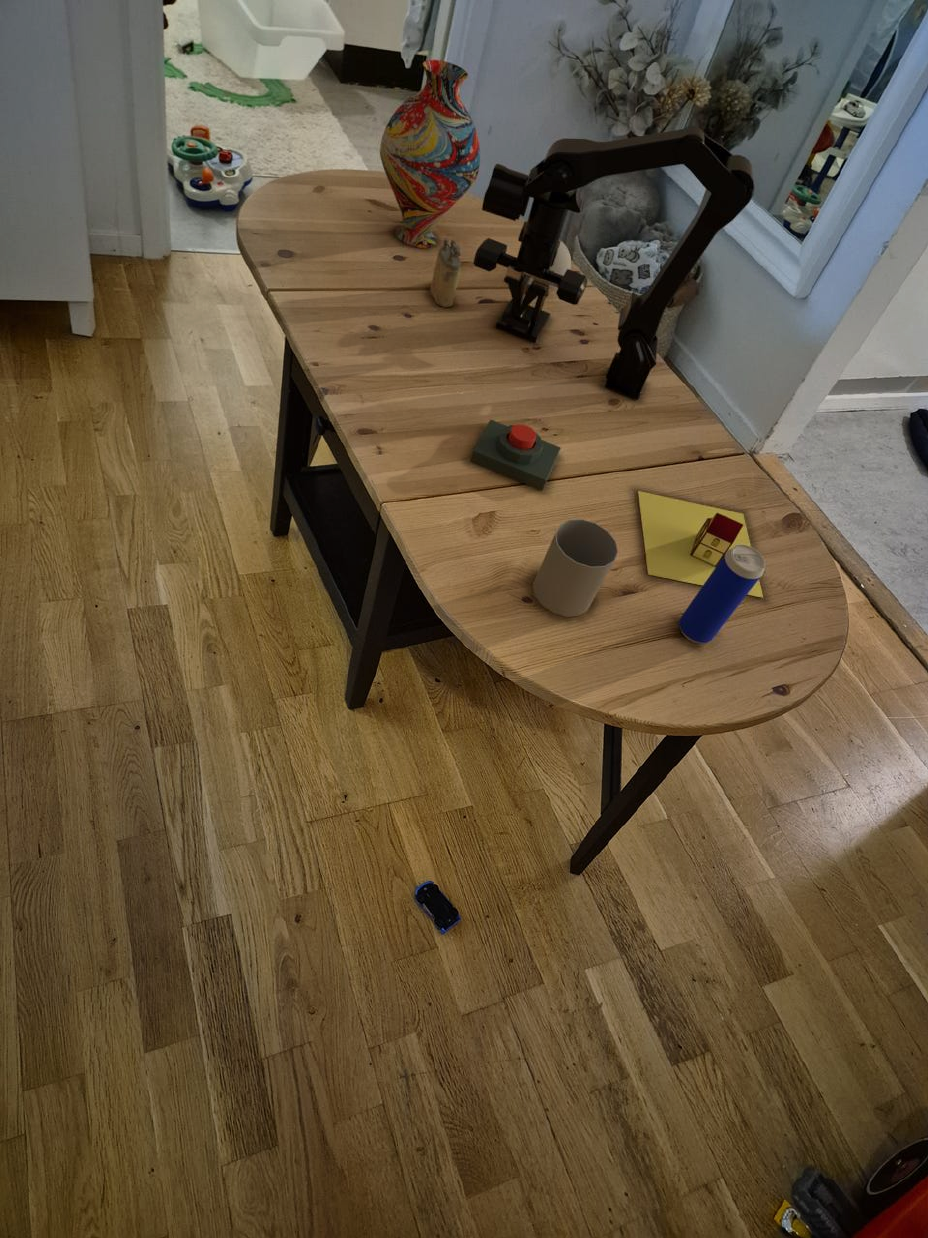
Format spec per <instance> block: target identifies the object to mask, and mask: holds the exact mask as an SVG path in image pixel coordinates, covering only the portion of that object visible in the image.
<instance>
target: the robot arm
mask: <svg viewBox="0 0 928 1238" xmlns="http://www.w3.org/2000/svg"><path fill="white" fill-rule="evenodd" d="M681 165H683V166H685V168H687V169H688V170H689V171H690V172H691V173H692V174H693V176H694V177H695V179H697V180H698V182H699V183H700V184H701V185H702V187H704V188H705V190H704V193H703V196H702V199H701V202H700V204H699V207H698V210H697V212H696V213H695V216H694V217H693V219H692V220H691V221H690V223H689V225H688V227H687V228H686V229H685V231H684V233H683V234H682V235H681V237H680V239H679V241H678V242H677V243H676V245H675V247H674V248H673V250H672V251H671V253H670V254H669V256H668V258H667V259H666V261H665V262H664V264H663V265H662V266H661V269H659V271H658V274H656V276H655V277H654V279H653V281H652V282H651V284H650V286H649V287H648V288H647V290H645V291H644V292H643V293H642V294H640V295H638V294H636V293H635V292H634V291H633V292H631V294H630V296H629V298H628V300H627V303H626V304H625V306H624V307H622V308H621V309H620V311H619V317H618V323H617V330H618V334H617V343H618V347H619V348H620V350H619V352H617V351H616V352H614V355H613V357H612V360H611V362H610V365H609V367H608V369H607V372H606V374H605V380H606V381H605V384H604V387H605V388H606V389H608V390H611V391H612V392H613V391H614V392H616V393H619V394H621V395H623V396H625V397H629V398H631V399H632V400H633V399H634V400H636V401H637V400H639V399H640V396H641V394H642V390H643V388H644V386H645V383H646V382H647V379H648V377H649V375H650V373H651V371H652V369H654V367H655V366H656V365H657V356H658V345H659V336H658V335H657V332H658V330H659V327H660V324H661V322H662V319H663V316H664V313H665V311H666V309H667V307H668V306H669V304H670V303H671V301H672V300H673V298H675V296H676V294H677V293H678V291H679V289H680V288H681V287H682V286H683V283H684V282H685V281H686V279H687V278H688V276H689V275H690V273H691V272H692V271H693V270H694V267H695V266H696V264H697V263H698V261H699V260H700V259H701V258H702V255H703V254H704V252H705V251H706V250H707V248H708V247H709V245H710V244H711V242H712V241H713V239H714V238H715V237H716V235H717V234H718V233H719V232H720V231H721V230H722V229H724V228H725V227H726V226H727V225H729V224H730V223H731V222H733V221H734V220H735V219H736V218H737V217H738V215H740V213H742V211H743V210H744V209H745V208H746V207H747V206H748V204H750V202H751V200H752V198H753V197H754V194H755V179H754V170H753V165H752V163H751V161H750V160H749V159H748V158H747V157H746V156H743V155H740V154H733V153H732V152H731V151H729V150H728V149H727V148H726V147H725V146H724V145H723V144H720V143H719V142H717V141H716V140H714V139H712V137H709V136H708V135H707V134H706V133H705V132H704V131H703V130H702V129H701V128H700V127H699V126H697V125H688V126H686V127H684V128H680V129H675V130H668V131H664V132H658V133H657V132H656V133H651V134H645V135H640V136H634V137H628V138H622V139H616V140H610V141H595V140H591V139H587V138H560V139H558V140H555V141H554V142H553V143H552V144H551V145H550V147H549V149H548V150H547V153H546V155H545V157H544V158H543V159H542V160H541V161H540V162H539V163H536V165H535V166H533V167H532V168H531V169H530V170H529V173H528V174H526V173H522V172H519V171H516V170H513V169H510V168H508V167H506V166H505V165H503V164H500V163H496V164H495V165H494V167H493V170H492V173H491V177H490V180H489V183H488V186H487V189H486V190H485V192H484V197H483V201H482V205H481V211H483V212H487V213H490V214H492V215H495V216H498V217H501V218H504V219H507V220H510V221H514V222H517V220H518V221H519V220H520V217H525V215H526V212H527V209H528V206H529V202H530V199H531V198H532V199H533V200H532V202H531V203H532V204H531V206H530V210H529V214H528V218H527V220H525V221H524V222H523V224H522V227H521V230H520V231H519V235H518V238H517V241H518V242H520V246H519V249H518V253H517V256H514V255H511V254H508V253H507V250H508V245H507V244H505V243H503V242H501V241H497V240H495V239H493V238H490V237H487V238H486V239H484V240H483V241H482V242H481V244H480V245H479V247H478V248H476V252H475V253H474V258H473V262H472V263H473V265H474V267H476V268H479V269H482V270H484V271H487V272H489V273H490V272H491V271H494V270H495V269H496V268H497V265H499V266H502V267H504V268H507V269H506V270H507V271H506V275H505V276H504V278H503V282H504V283H505V284H507V285H508V288H509V291H510V296H511V299H512V301H513V309H514V317H515V318H518V319H519V318H520V316H521V315H522V314H523V312H524V311H525V309H526V308H527V307H528V305H529V306H530V304H531V303H532V302H533V301H534V300H535V299H537V298H538V296H540V297H544V296H545V294H546V292H547V291H548V289H549V287H550V285H553V286H555V287H558V288H557V289H556V293H555V294H556V295H557V298H558V299H559V300H560V301H563V302H566V303H568V304H569V305H573V306H576V305H578V304H579V303H580V301H581V299H582V297H583V294H584V293H585V290H586V287H587V285H588V278H587V275H584V274H582V273H579V272H577V271H574V270H571V269H570V270H569V269H567V270H566V272H565V274H564V276H562V275H560V274H557V273H555V271H553V270H550V266H551V267H552V266H553V264H554V261H555V258H556V255H557V252H558V248H559V245H560V242H561V241H562V240H560V238H561V235H562V232H563V229H564V226H565V223H566V218H567V216H568V212H569V211H570V212H573V213H576V214H580V213H581V211H582V207H583V204H584V201H583V199H582V197H581V195H580V194H579V190H578V189H581V188H583V187H586V186H588V185H589V184H591V183H593V182H595V181H597V180H599V179H602V178H605V177H608V176H616V175H622V174H627V173H629V174H630V173H635V172H641V171H647V170H655V169H660V168H666V167H667V168H668V167H672V166H673V167H674V166H681ZM527 276H530V277H532V278H533V282H532V283H531V285H530V286H529V288H528V290H527V292H526V295H525V294H524V298H523V293H524V288H525V283H526V279H527ZM522 298H523V302H522ZM521 303H522V304H521Z"/></svg>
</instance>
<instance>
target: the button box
mask: <svg viewBox="0 0 928 1238" xmlns="http://www.w3.org/2000/svg"><path fill="white" fill-rule="evenodd" d="M514 425H515V424H509V425H506V424H503V423H501V422H499V421H496V420H494V419H490V420H489V422H488V423H487V425H486V427H485V429H484V430H483V432H482V433H481V435H480V437H479V439H478V441H477V443H476V445H475V447H474V448H473V450H472V453H471V457H470V460H469V462H470V463H473V464H475V465H478V466H479V467H483V468H485V469H487V470H490V471H492V472H495V473H498V474H500V475H502V476H504V477H507V478H509V479H513V480H514V481H517V482H519V483H522V484H524V485H527V486H530V487H531V488H534V489H537V490H539V491H541V492H543V491H544V489H545V486H546V484H547V482H548V479H549V477H550V475H551V472H552V470H553V468H554V465H555V463H556V461H557V459H558V456H559V453H560V451H561V449H562V448H561V447H560V446H558V445H555V444H553V443H550V442H548V441H546V440H543V439H542V437H541V436H540V435H539V434H538V433H537V432H535V433H536V439H535V442H534V444H533V447H532V448H531V449H529V450H520V449H518V448H515V447H513V446H512V445H511V444H510V443H509V441H508V436H509V433H510V430H511V428H512V427H513V426H514Z"/></svg>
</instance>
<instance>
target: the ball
mask: <svg viewBox="0 0 928 1238" xmlns="http://www.w3.org/2000/svg"><path fill="white" fill-rule="evenodd" d="M560 241H561V242H560V245H559V248H558V252H557V255H556V258H555V261H554V264H553V266H552V267H551V266H550V270H553V271H555V273H557V274H560V275H562V276H564V274H565V272H566V270H567V269H569V270H571V268H572V257H571V254H570V251H569V249H568V247H567V246H566V244H565V243H564V242H563V241H562V240H560ZM529 279H530V278H529ZM549 288H550V292H552V291H555V290H557V289H558V287H555V286H553V285H550V287H549Z"/></svg>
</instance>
